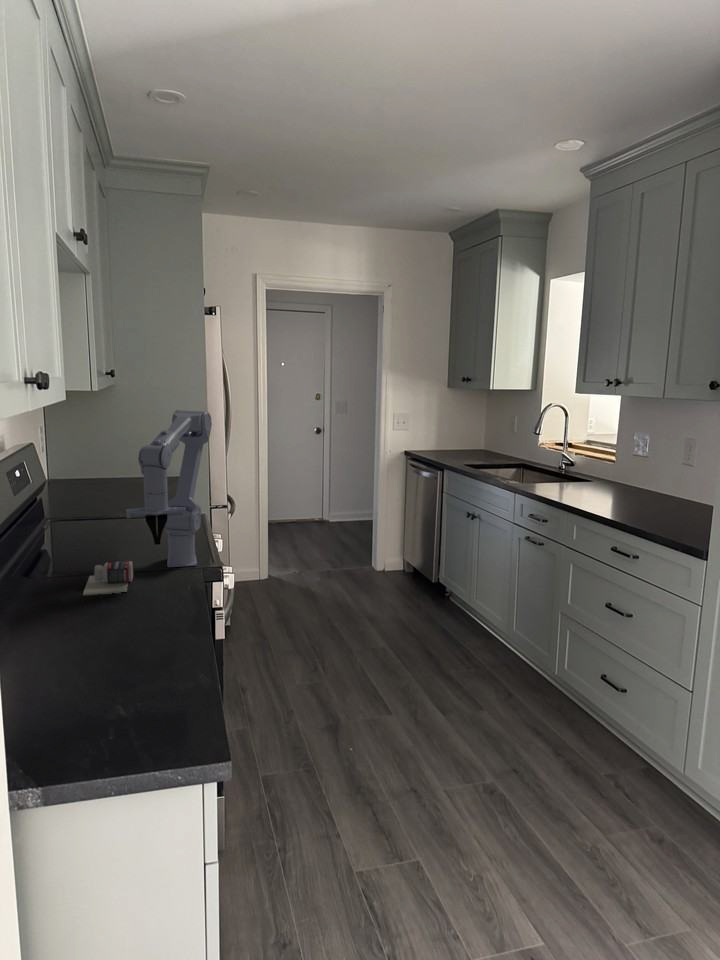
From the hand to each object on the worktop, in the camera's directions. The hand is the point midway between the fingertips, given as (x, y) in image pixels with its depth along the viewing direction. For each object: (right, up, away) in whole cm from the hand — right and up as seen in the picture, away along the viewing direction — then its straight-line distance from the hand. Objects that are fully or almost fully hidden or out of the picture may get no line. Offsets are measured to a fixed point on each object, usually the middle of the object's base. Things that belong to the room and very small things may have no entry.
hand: (157, 543), depth 168 cm
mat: (-12, -10, -3) cm, 16 cm away
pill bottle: (-6, -7, -1) cm, 9 cm away
